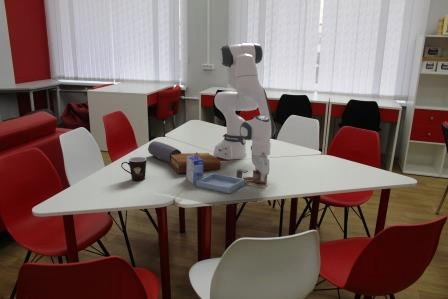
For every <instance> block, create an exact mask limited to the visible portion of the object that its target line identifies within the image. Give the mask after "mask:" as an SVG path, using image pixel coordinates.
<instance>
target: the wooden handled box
mask: <svg viewBox="0 0 448 299" xmlns="http://www.w3.org/2000/svg"><path fill="white" fill-rule="evenodd" d="M243 173H244V174H247V173H249V171H248V170H246V169H241V168H239V169H237V170H236V178H241V179H243ZM245 185H248V186H252V187H257V188H262V189H265V188H268V186H269V185H267V184H262V183H261V182H253V181H248V180H245Z"/></svg>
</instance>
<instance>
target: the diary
mask: <svg viewBox="0 0 448 299" xmlns="http://www.w3.org/2000/svg"><path fill="white" fill-rule="evenodd" d="M197 153H198V154H199V156H198V155H197V154H196V152H194V153H193V152H192V153H184V152H183V153H182V152H181V154H171V155H170V156H171V162H168V164H169V165H170V166H171V167H172V168H173V169H174V170H175V171H176V173H177V174H183V173H186V174H187V156H195V154H196V156H198V157H199V158H201V159H202V160H203V173H204V172H211V171H219V170H221V165H222V162H221V160H219V159H218V158H217V157H216V156H213V155H211V154H212V153H209V152H197Z"/></svg>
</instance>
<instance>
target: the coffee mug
mask: <svg viewBox="0 0 448 299" xmlns="http://www.w3.org/2000/svg"><path fill="white" fill-rule="evenodd" d="M147 160H148V159H147V158H146V157H143V156H134V157H130V158H129V159H128V162H127V161H123V162H122V163H121V166H120V167H121V168H122V169H123V170H124V171H125V172H126V173H127V174H129V175H131V176H130V177H131V180H132V181H136V182H139V181H144V180H145V179H146V172H147V171H146V170H147ZM124 164H127V165H128V167H129V170H130V171H128V169H125V168H124V167H123V165H124Z"/></svg>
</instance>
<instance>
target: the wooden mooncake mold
mask: <svg viewBox="0 0 448 299" xmlns="http://www.w3.org/2000/svg"><path fill="white" fill-rule="evenodd" d="M260 177H261V174H260V172H259V171H258V170H255V169H253V170H252V176H242V179H245V181H248V182H253V183H257V182H261V183H260V184H262V183H266V184H267V183H268V175H265V178H264V181H260Z"/></svg>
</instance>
